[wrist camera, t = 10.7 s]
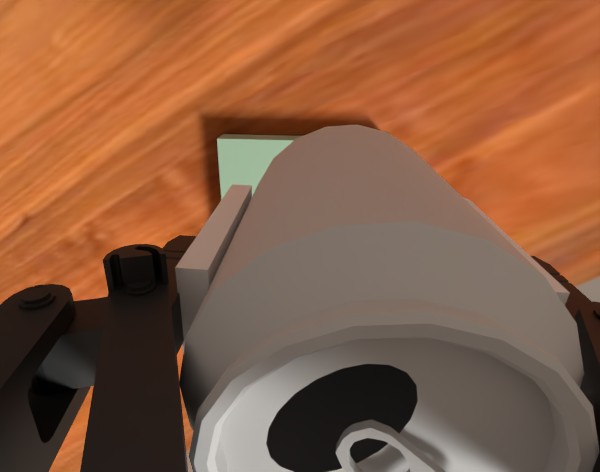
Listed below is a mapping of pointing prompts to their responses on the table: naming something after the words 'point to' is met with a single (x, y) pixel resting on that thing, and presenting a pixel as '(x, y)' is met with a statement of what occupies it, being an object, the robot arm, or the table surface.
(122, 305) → the robot arm
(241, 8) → the table surface
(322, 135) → the can
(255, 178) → the board
